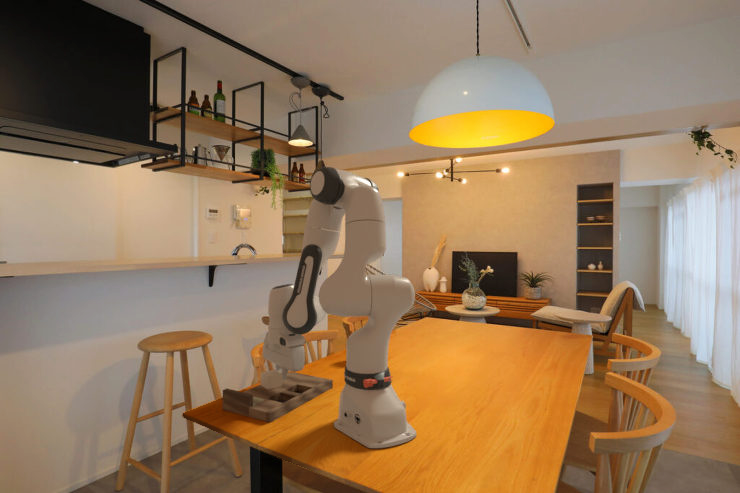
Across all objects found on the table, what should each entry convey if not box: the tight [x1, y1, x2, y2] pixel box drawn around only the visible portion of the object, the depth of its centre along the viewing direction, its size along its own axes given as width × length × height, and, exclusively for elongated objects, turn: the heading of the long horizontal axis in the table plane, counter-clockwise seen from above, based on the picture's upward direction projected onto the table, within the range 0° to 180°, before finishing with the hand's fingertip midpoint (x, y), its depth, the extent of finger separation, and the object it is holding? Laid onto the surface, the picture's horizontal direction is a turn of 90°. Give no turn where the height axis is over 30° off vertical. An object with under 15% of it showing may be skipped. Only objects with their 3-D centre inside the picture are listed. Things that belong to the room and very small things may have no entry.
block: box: [259, 369, 283, 390], centre depth 129 cm, size 5×5×4 cm
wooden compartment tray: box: [222, 371, 334, 423], centre depth 126 cm, size 30×18×6 cm, turn 152°
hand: (282, 378), depth 131 cm, fingers closed
